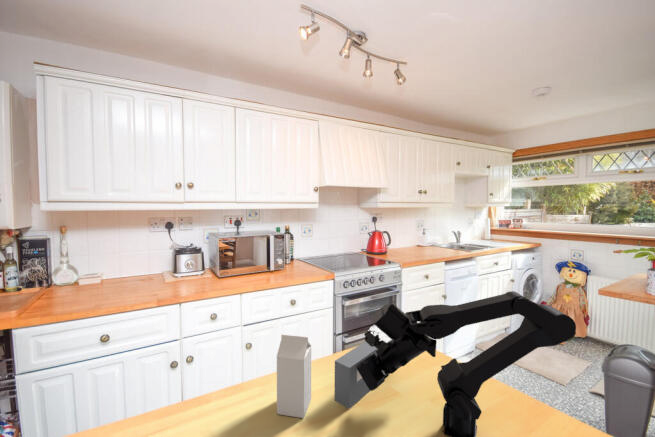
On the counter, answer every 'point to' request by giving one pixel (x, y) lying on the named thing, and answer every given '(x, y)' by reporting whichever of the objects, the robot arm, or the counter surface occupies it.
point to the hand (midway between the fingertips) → (366, 374)
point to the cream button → (358, 376)
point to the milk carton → (293, 376)
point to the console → (351, 375)
